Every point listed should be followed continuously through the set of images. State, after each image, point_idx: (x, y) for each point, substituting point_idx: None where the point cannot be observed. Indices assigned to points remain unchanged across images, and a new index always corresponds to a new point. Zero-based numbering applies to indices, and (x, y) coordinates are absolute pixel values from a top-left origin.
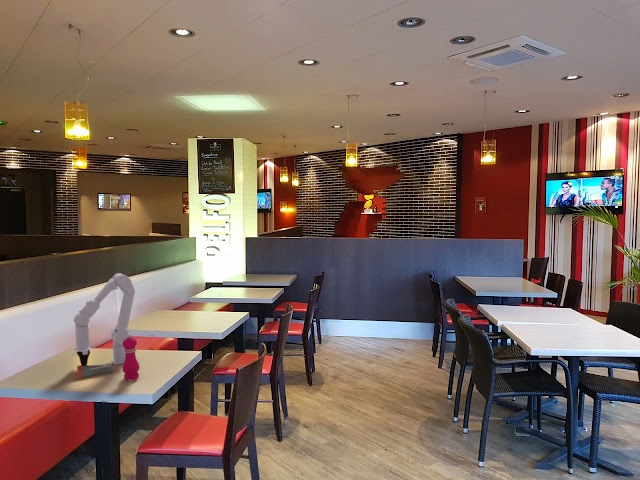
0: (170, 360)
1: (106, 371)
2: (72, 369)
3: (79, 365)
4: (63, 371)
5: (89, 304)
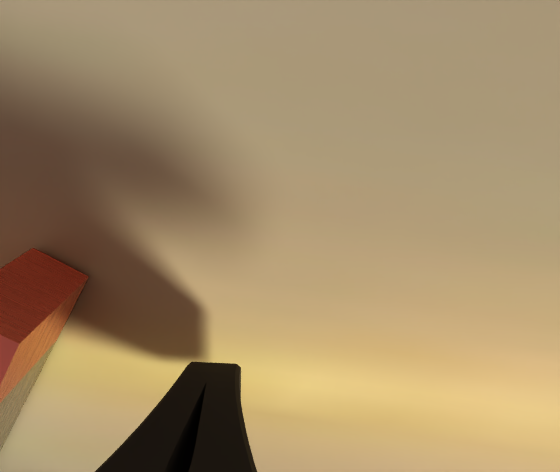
0: None
1: None
2: (327, 210)
3: (7, 355)
4: (313, 44)
5: None
